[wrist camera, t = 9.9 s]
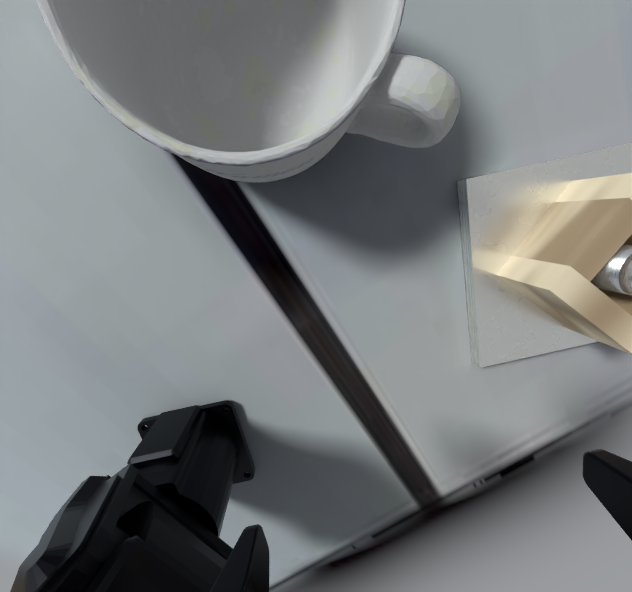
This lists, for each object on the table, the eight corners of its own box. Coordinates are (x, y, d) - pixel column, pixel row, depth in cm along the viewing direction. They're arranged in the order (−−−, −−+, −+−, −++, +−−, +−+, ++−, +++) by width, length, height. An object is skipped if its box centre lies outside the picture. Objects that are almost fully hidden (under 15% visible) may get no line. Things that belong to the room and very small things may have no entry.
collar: (643, 244, 18) (736, 251, 14) (567, 328, 19) (635, 356, 15) (571, 180, 17) (652, 170, 13) (496, 274, 18) (549, 290, 14)
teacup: (117, 105, 16) (-60, -4, 8) (225, -107, 14) (132, -522, 6) (329, 257, 18) (350, 286, 11) (444, 98, 16) (573, -9, 9)
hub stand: (639, 323, 21) (778, 366, 15) (471, 360, 21) (542, 418, 15) (654, 137, 18) (840, 95, 12) (457, 181, 18) (538, 162, 12)
